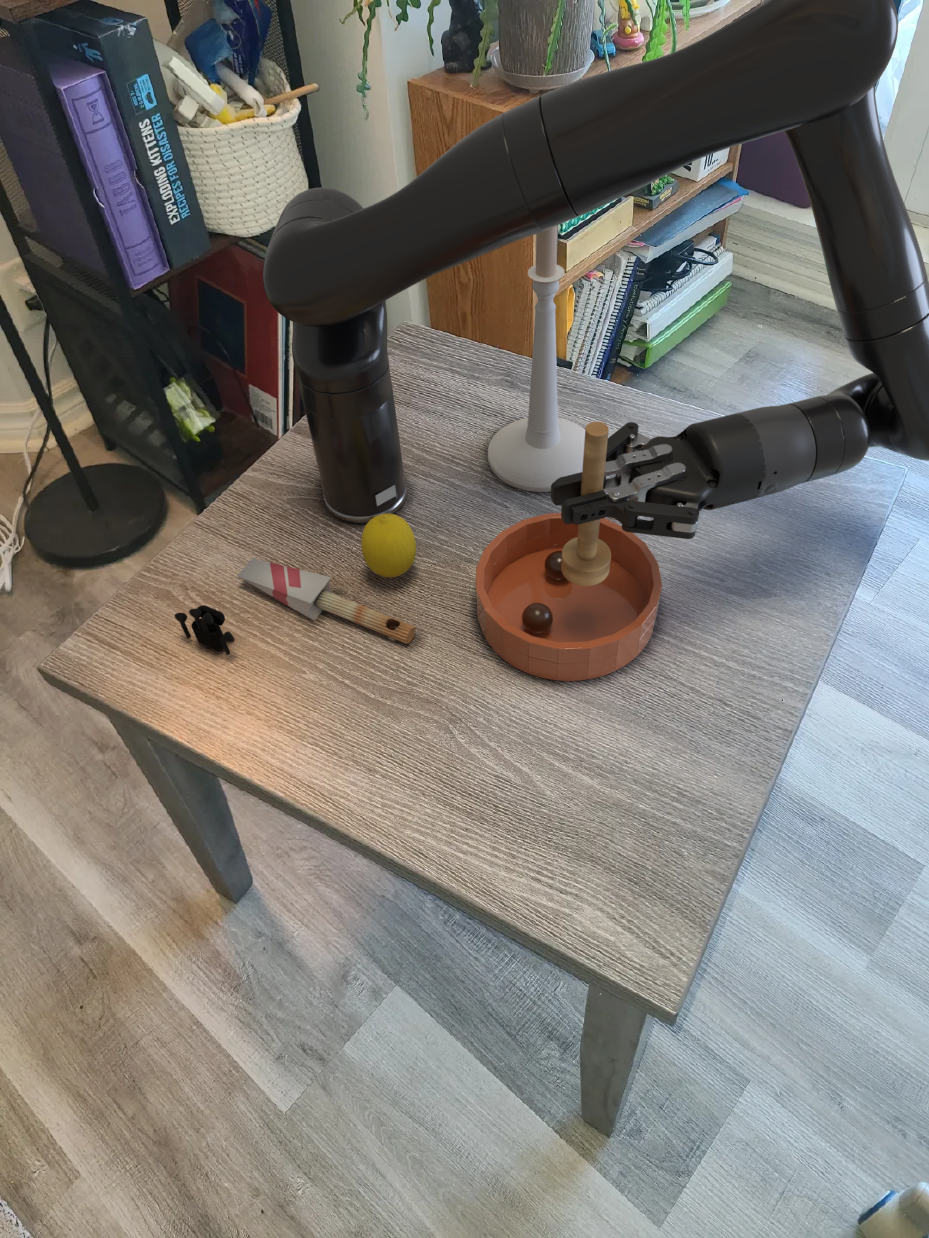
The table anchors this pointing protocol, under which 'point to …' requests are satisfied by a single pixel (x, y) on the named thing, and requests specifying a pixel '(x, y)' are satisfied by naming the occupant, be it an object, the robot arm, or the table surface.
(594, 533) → the wooden peg stand
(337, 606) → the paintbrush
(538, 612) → the bead
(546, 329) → the candlestick
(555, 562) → the bead
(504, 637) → the bowl
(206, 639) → the wireless earbuds
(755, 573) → the table surface
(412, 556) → the lemon
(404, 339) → the table surface
